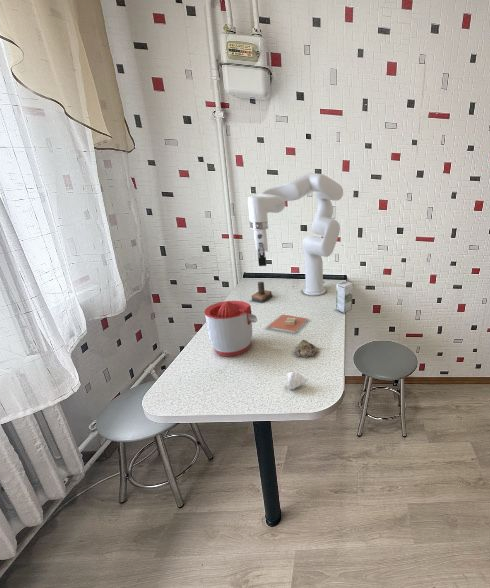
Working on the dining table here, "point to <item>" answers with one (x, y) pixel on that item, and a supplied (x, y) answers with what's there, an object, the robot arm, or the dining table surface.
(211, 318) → the citrus juicer
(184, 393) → the dining table surface
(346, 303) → the syrup box
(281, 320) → the tile
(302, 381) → the garlic bulb
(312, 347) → the mineral rock
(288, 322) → the cork chip
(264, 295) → the brush
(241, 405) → the dining table surface
